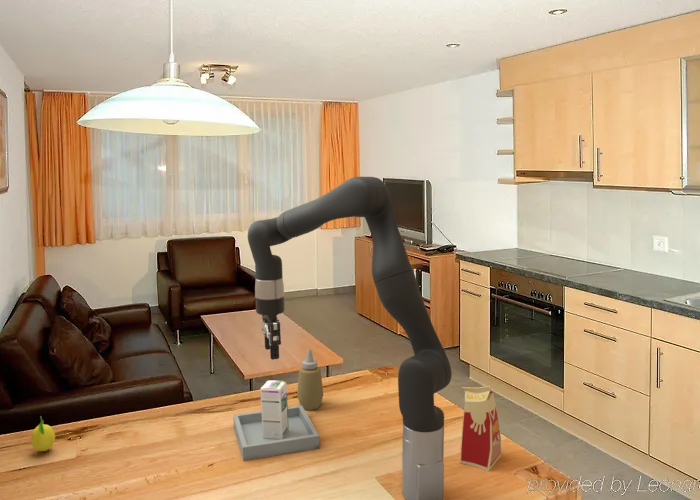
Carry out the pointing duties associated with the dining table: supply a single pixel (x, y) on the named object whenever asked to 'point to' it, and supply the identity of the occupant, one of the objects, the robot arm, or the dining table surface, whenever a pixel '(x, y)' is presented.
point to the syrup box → (274, 409)
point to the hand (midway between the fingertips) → (271, 353)
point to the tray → (256, 446)
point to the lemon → (42, 437)
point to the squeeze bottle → (310, 384)
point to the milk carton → (480, 429)
